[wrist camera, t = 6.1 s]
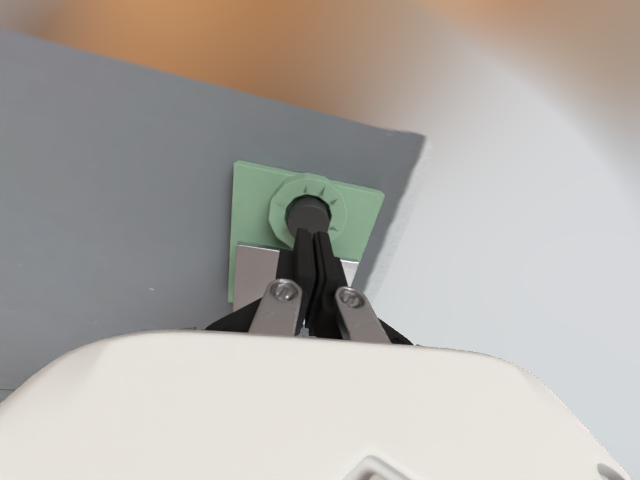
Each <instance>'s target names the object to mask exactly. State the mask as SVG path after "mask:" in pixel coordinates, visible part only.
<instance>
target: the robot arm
mask: <svg viewBox="0 0 640 480" xmlns="http://www.w3.org/2000/svg"><path fill="white" fill-rule="evenodd" d="M304 319H305V328H309V336H316V337H317V338H312V337H299V336H297V335H298V334H300V330H301V328H302V326H303V323H304ZM0 480H632V479H631V478H630V477H629V476H628V475H627V473H626V472H625V471H624V470H623V469H622V468H621V466H620V465H619V464H618V463H617V462H616V461H615V460H614V459H613V458H612V457H611V455H610V454H609V453H608V452H607V451H606V450H605V449H604V447H603V446H602V445H601V444H600V443H599V442H598V441H597V440H596V438H595V437H594V436H593V435H592V434H591V433H590V432H589V431H588V430H587V429H586V427H585V426H584V425H583V424H582V423H581V422H580V421H579V420H578V419H577V418H576V416H575V415H574V414H573V413H572V412H571V411H570V410H569V409H568V408H567V407H566V406H565V405H564V404H563V403H562V402H561V401H560V399H558V397H557V396H556V395H555V394H554V393H553V392H552V391H550V389H549V388H547V387H546V386H545V385H544V384H543V383H542V382H541V381H540V380H539V379H538V378H537V377H535V376H534V375H532V374H531V373H529V372H528V371H526V370H524V369H522V368H520V367H518V366H516V365H514V364H512V363H510V362H507V361H505V360H502V359H500V358H496V357H493V356H490V355H486V354H482V353H477V352H471V351H464V350H455V349H447V348H436V347H426V346H420V345H416V346H414V345H413V344H412V343H411V342H410V341H409V340H408V339H407V338H405V337H404V336H403V335H401V334H400V333H398V332H397V331H395V330H394V329H393V328H392V327H390V326H389V325H387V324H386V323H385V322H383V321H382V320H380V319H379V318H377V316H376V314H375V312H374V311H373V309H372V307H371V305H370V303H369V301H368V299H367V298H366V296H365V295H364V294H363V293H362V292H361V291H359V290H358V289H356V288H353V287H348V283H347V280H346V276H345V273H344V269H343V266H342V262H341V259H340V258H339V257H334V254H333V250H332V245H331V241H330V237H329V233H327V232H321V231H318V232H317V233H314V234H313V238H312V235H311V232H308V229H303V228H297V232H296V237H295V242H294V247H293V251H292V250H285V249H280V252H279V258H278V264H277V270H276V277H275V280H273V281H272V282H270V283H269V284H268V286H267V287H266V290H265V292H264V295H263V297H261V298H259V299H257V300H256V301H254V302H252V303H250V304H248V305H246V306H244V307H242V308H240V309H239V310H237V311H235V312H233V313H231V314H229V315H227V316H225V317H223V318H221V319H220V320H218V321H216V322H214V323H212V324H211V325H209V326H208V327H207V328H206V329H205V330H196V327H194V328H185V329H170V330H150V331H142V332H134V333H128V334H123V335H118V336H114V337H109V338H105V339H102V340H98V341H95V342H92V343H89V344H86V345H83V346H80V347H78V348H76V349H74V350H71V351H69V352H67V353H65V354H63V355H62V356H60V357H58V358H57V359H55V360H53V361H52V362H50V363H49V364H48V365H46V366H45V367H43V368H42V369H40V370H39V371H38V372H37V373H35V374H34V375H33V376H31V377H30V378H29V379H28V380H27V381H25V382H24V383H23V384H22V385H21V386H20V387H18V388H17V389H16V390H15V391H14V392H13V393H11V394H10V395H9V396H8V397H7V398H6V399H4V400H3V401H2V402H1V403H0Z"/></svg>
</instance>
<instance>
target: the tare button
mask: <svg viewBox="0 0 640 480" xmlns="http://www.w3.org/2000/svg"><path fill="white" fill-rule="evenodd" d="M329 225H330V223H329V217H328V214H327V210H326V208H325V206H324V205H323V203H322V202H320V201H319V200H317V199H315V198H310V197H306V198H301V199H299V200H297V201H296V202H294V203H293V205H292V206H291V208H290V210H289V215H288V230H289V232H290V234H291V235H292V236H293V237H294V238H295V237H296V232H297V228H303V229H308V232H311V235H312V238H313V234H314V233H317V232H318V231H321V232H328V230H329Z"/></svg>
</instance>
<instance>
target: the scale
mask: <svg viewBox="0 0 640 480" xmlns="http://www.w3.org/2000/svg"><path fill="white" fill-rule="evenodd" d="M384 196H385V195H384V194H383V193H382V192H381V191H380V190H377V189H372V188H367V187H363V186H358V185H353V184H349V183H344V182H339V181H335V180H330V179H327V178H326V177H324V176H320V175H315V174H311V173H297V172H293V171H288V170H283V169H279V168H274V167H270V166H265V165H260V164H256V163H251V162H246V161H242V160H238V161H236V162H235V163H234V169H233V191H232V214H231V236H230V258H229V280H228V303H233V296H234V280H235V263H236V247H237V243H238V241H241V242H248V243H254V244H261V245H267V246H274V247H280V248H287V249H293V247H294V242H295V238H294V237H293V236H292V235H291V234H290V232H289V230H288V215H289V210H290V208H291V206H292V205H293V203H294V202H296V201H297V200H299V199H301V198H306V197H310V198H315V199H317V200H319V201H320V202H322V203H323V205H324V206H325V208H326V210H327V214H328V217H329V223H330V225H329V230H328V232H327V233H329V237H330V241H331V245H332V250H333V254H334V256H339V257H345V258H352V259H357V260H358V262H359V263H360V260H361V257H362V255H363V252H364V249H365V247H366V244H367V241H368V239H369V236H370V234H371V231H372V228H373V226H374V223H375V220H376V218H377V215H378V212H379V210H380V207H381V204H382V202H383V199H384ZM357 268H358V267H357ZM356 271H357V270H356ZM354 276H355V275H354ZM351 284H352V283H351Z"/></svg>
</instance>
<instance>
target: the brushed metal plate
mask: <svg viewBox="0 0 640 480" xmlns="http://www.w3.org/2000/svg"><path fill="white" fill-rule="evenodd" d="M280 249H285V250H292V251H293V249H287V248H280V247H274V246H267V245H261V244H254V243H248V242H241V241H238V243H237V247H236V263H235V280H234V296H233V312H235V311H237V310H239V309H240V308H242V307H244V306H246V305H248V304H250V303H252V302H254V301H256V300H257V299H259V298H261V297H263V295H264V292H265V290H266V287H267V286H268V284H269V283H270V282H272V281H273V280H275V277H276V270H277V264H278V258H279V252H280ZM334 257H339V256H334ZM339 258H340V259H341V262H342V266H343V269H344V273H345V276H346V280H347V283H348V287H350V286H351V283H352V281H353V278H354V275H355V273H356V270H357V267H358V265H359V262H358V260H357V259H352V258H345V257H339ZM233 312H232V313H233ZM303 324H305V319H304V323H303Z"/></svg>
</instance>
